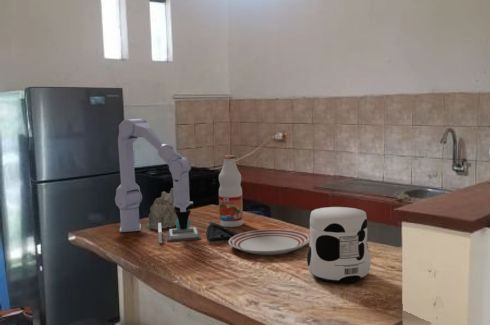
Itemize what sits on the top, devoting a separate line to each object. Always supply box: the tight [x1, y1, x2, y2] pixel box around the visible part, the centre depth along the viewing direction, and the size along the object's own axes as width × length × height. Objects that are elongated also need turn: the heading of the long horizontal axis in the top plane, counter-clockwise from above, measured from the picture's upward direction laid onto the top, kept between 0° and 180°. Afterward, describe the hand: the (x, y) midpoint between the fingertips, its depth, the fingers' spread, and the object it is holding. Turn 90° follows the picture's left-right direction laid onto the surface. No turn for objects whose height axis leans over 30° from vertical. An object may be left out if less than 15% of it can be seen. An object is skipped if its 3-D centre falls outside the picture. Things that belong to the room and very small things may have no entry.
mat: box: [166, 226, 202, 243], centre depth 183 cm, size 12×12×2 cm
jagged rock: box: [145, 187, 178, 230], centre depth 202 cm, size 16×16×15 cm
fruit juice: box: [218, 154, 244, 228], centre depth 196 cm, size 9×9×28 cm
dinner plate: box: [228, 228, 310, 256], centre depth 166 cm, size 27×27×3 cm
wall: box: [157, 223, 163, 244], centre depth 181 cm, size 14×1×4 cm, turn 10°
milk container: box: [306, 206, 371, 283], centre depth 136 cm, size 17×17×18 cm
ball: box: [175, 218, 191, 231], centre depth 182 cm, size 6×6×6 cm
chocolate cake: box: [205, 221, 239, 244], centre depth 177 cm, size 10×7×12 cm
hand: (183, 226), depth 182 cm, fingers closed on ball, 5 cm apart
